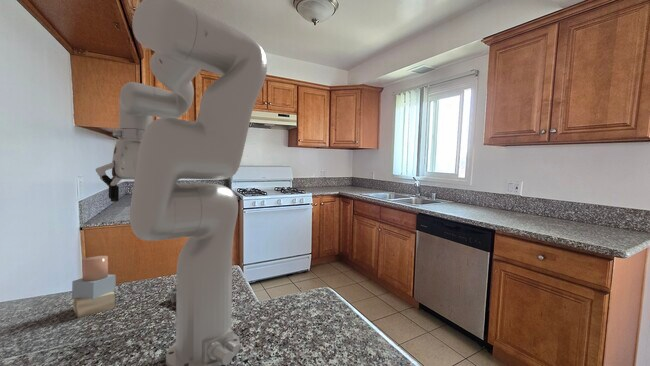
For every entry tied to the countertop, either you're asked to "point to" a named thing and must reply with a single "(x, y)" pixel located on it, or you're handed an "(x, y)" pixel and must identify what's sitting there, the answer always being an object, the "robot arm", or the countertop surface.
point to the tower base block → (93, 304)
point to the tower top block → (93, 287)
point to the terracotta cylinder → (95, 268)
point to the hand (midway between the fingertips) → (135, 200)
